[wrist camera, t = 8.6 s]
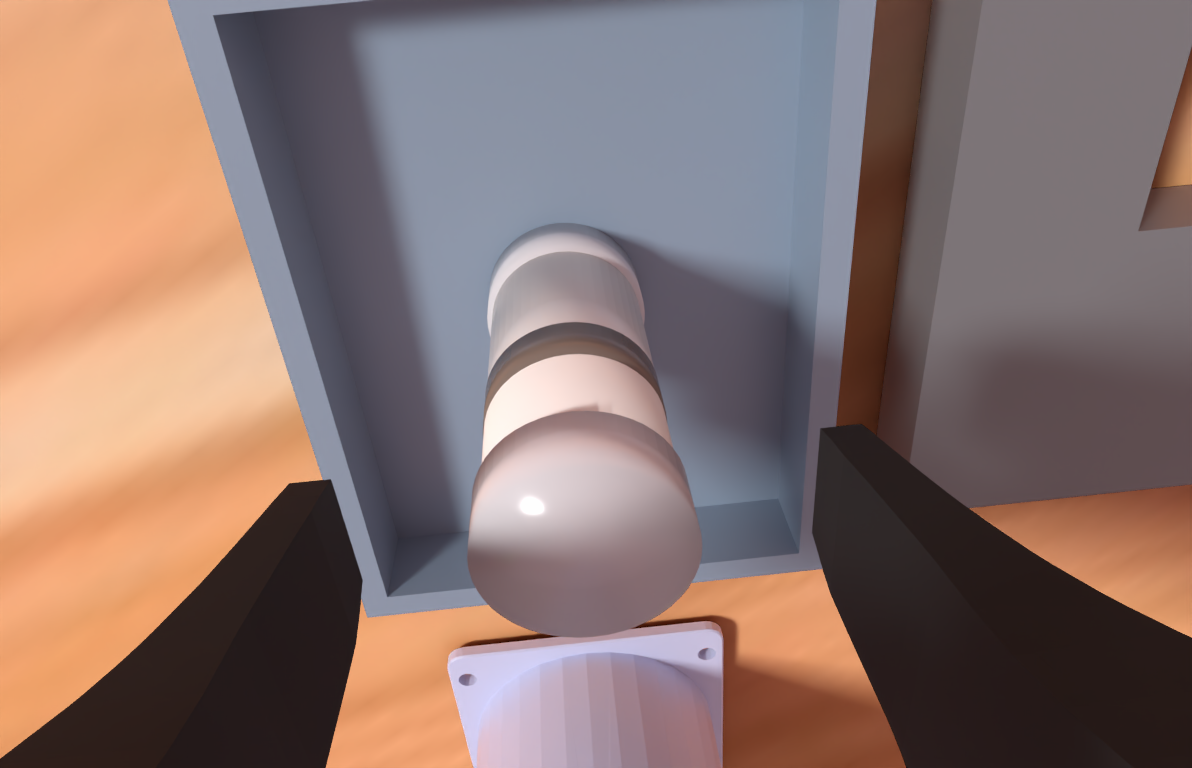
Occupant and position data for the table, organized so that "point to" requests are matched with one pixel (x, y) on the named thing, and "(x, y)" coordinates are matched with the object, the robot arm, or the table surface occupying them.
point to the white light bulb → (576, 447)
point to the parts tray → (533, 199)
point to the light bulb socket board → (1044, 255)
